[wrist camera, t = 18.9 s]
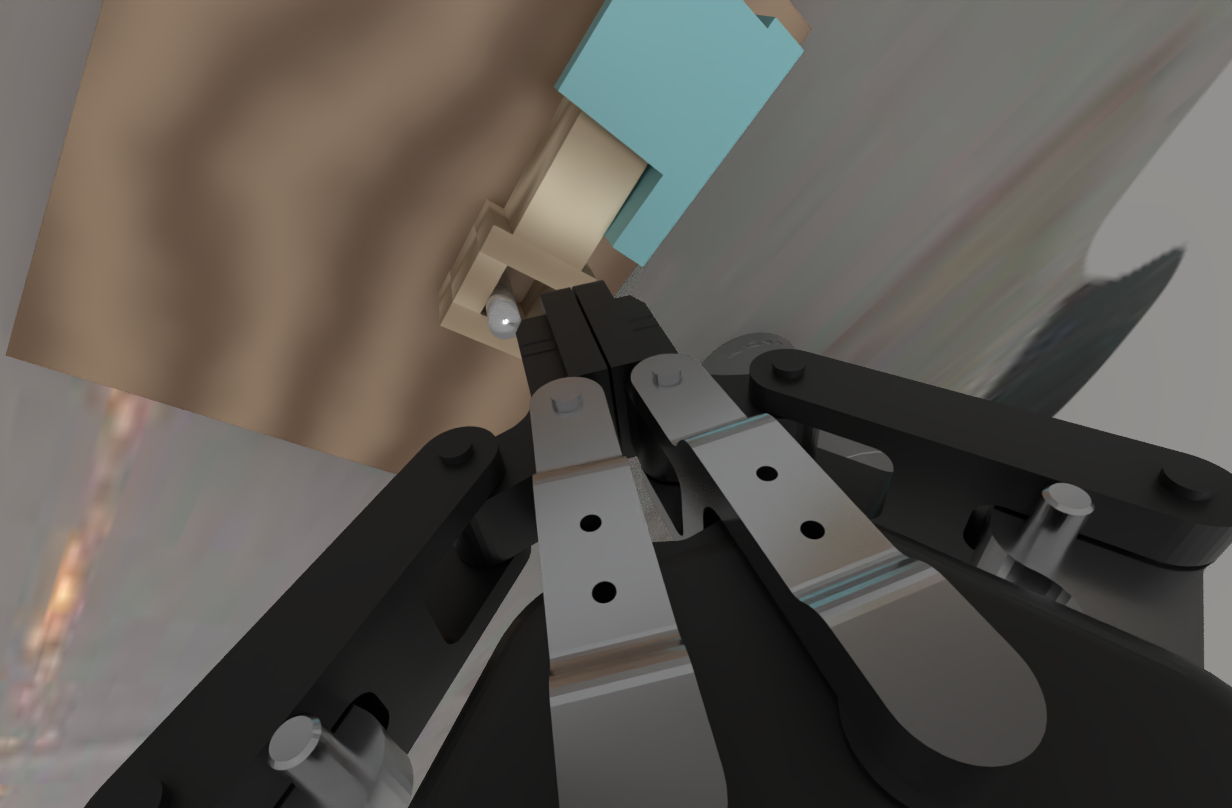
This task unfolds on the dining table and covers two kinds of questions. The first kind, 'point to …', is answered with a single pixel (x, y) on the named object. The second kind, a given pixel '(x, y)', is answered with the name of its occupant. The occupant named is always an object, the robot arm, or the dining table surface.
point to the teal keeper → (674, 97)
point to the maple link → (542, 224)
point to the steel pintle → (503, 309)
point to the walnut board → (299, 210)
